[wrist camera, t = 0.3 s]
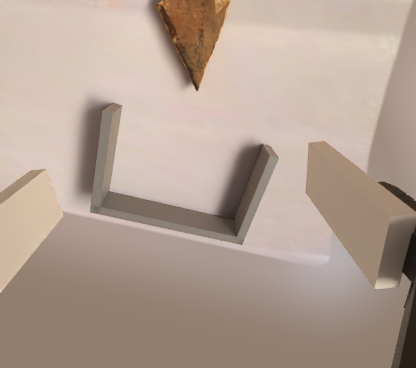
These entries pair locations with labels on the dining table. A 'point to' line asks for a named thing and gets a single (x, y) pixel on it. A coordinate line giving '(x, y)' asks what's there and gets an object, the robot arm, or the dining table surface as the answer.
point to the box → (168, 214)
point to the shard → (194, 30)
